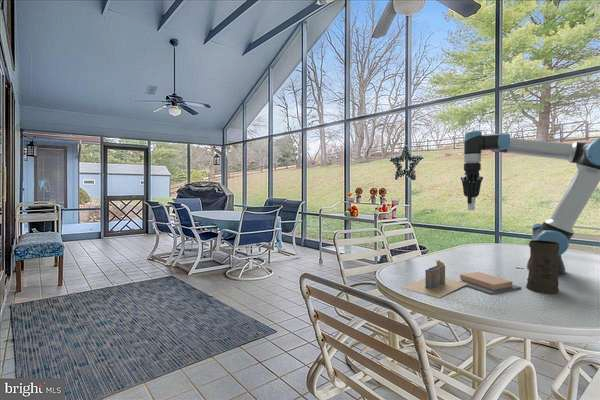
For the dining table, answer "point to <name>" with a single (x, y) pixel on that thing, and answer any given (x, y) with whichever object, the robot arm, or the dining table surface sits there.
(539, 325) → the dining table surface
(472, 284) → the mat
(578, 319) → the dining table surface
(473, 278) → the tile
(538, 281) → the beer stein
